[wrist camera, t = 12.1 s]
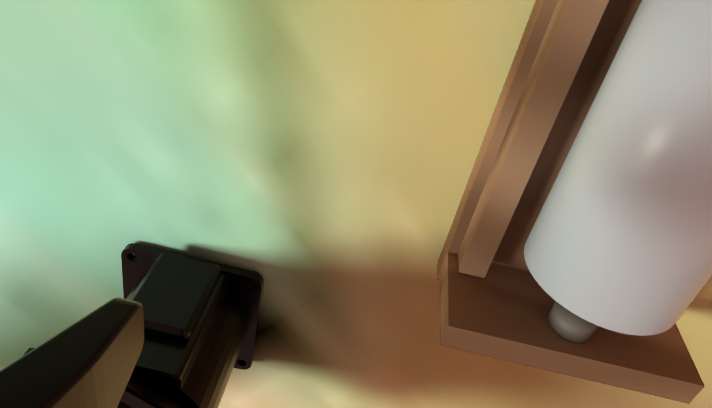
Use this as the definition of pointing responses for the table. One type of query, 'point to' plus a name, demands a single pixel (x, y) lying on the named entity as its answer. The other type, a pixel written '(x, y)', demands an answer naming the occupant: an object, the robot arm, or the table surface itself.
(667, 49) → the cylinder
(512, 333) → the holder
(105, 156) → the table surface
